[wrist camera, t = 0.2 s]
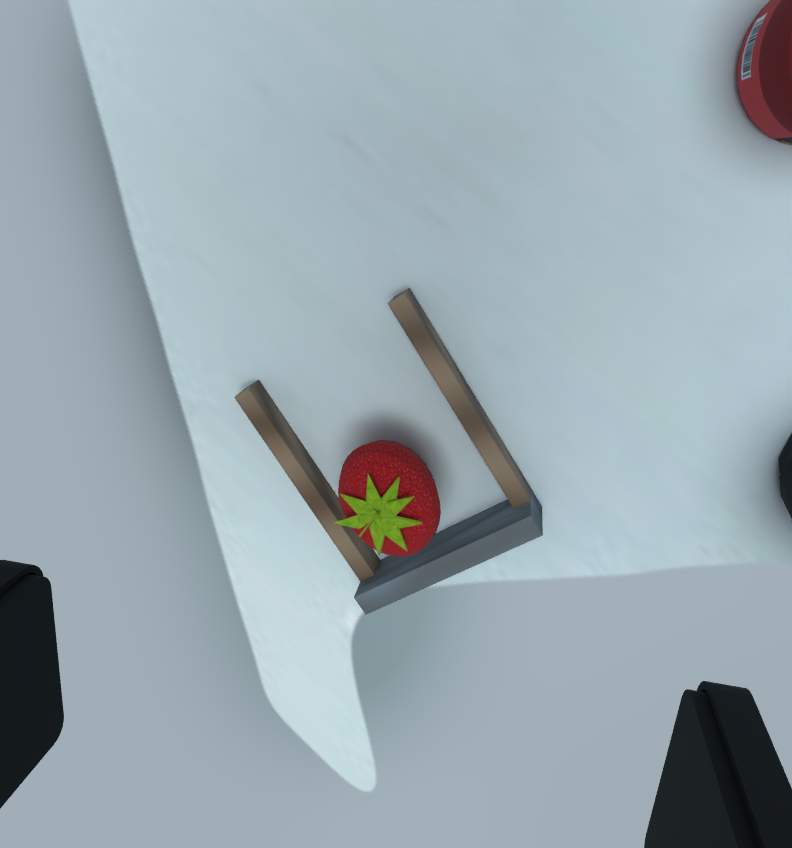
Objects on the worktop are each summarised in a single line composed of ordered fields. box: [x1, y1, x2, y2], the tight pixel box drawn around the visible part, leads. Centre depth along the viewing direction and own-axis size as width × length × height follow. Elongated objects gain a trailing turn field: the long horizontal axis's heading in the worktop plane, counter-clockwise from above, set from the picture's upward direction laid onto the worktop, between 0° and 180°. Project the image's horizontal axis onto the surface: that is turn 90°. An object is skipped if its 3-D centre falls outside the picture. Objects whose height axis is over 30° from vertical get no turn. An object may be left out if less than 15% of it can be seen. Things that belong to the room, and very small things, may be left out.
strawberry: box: [334, 440, 441, 556], centre depth 45 cm, size 6×8×10 cm
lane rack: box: [234, 288, 543, 614], centre depth 47 cm, size 17×13×4 cm
